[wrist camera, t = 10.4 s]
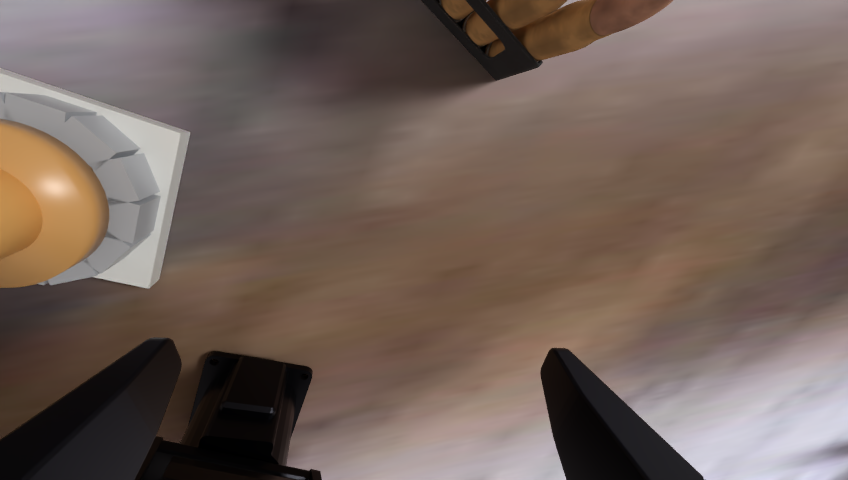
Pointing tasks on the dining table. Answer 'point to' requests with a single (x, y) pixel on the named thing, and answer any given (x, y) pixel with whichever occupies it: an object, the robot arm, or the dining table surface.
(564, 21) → the ammunition clip
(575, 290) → the dining table surface
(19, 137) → the tan peg
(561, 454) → the robot arm
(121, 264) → the housing
